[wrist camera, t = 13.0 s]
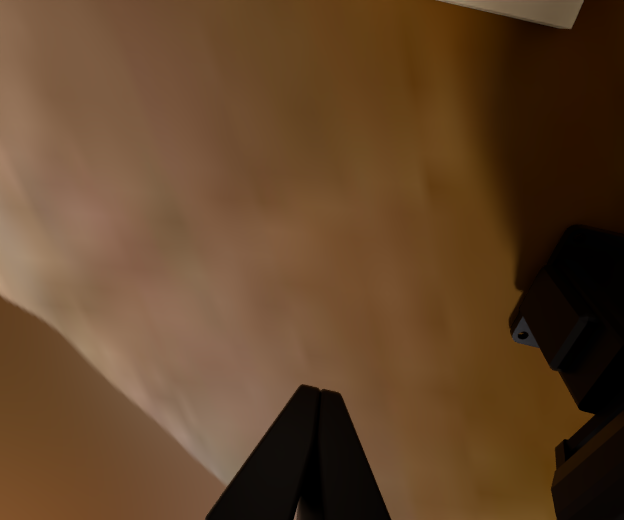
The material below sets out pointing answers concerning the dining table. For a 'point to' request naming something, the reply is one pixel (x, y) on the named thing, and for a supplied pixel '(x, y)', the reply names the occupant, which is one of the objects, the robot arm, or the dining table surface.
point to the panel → (529, 10)
